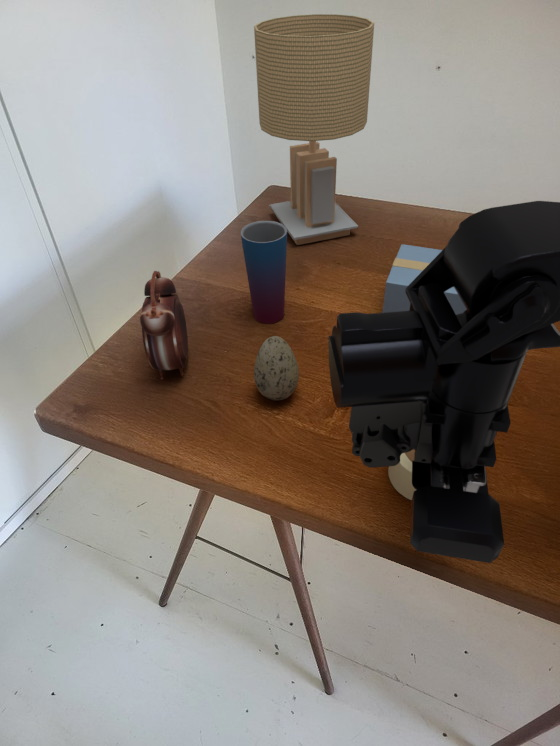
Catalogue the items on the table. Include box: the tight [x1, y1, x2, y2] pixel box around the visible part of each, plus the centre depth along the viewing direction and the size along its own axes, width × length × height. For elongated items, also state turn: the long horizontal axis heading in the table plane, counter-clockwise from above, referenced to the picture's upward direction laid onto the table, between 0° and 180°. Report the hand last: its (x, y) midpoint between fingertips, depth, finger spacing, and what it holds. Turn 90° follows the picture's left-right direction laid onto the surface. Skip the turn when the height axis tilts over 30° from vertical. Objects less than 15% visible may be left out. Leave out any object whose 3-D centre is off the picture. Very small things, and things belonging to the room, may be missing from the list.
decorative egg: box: [253, 335, 300, 401], centre depth 68 cm, size 6×6×10 cm
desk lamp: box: [253, 13, 375, 246], centre depth 96 cm, size 20×20×35 cm
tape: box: [387, 449, 416, 501], centre depth 59 cm, size 8×8×5 cm
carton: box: [381, 243, 467, 315], centre depth 82 cm, size 12×12×8 cm
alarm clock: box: [139, 270, 189, 381], centre depth 72 cm, size 11×5×15 cm, turn 5°
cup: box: [240, 220, 288, 325], centre depth 81 cm, size 7×7×15 cm
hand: (435, 504), depth 49 cm, fingers closed
